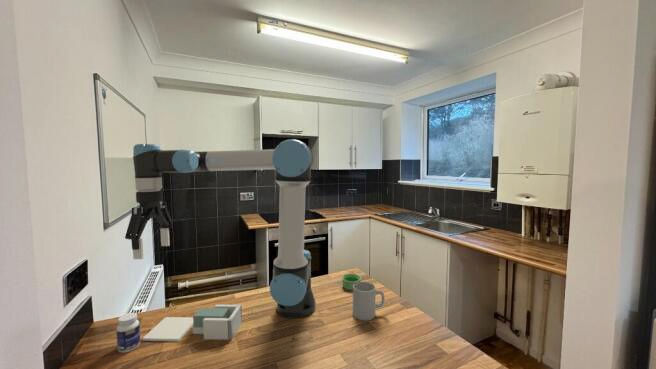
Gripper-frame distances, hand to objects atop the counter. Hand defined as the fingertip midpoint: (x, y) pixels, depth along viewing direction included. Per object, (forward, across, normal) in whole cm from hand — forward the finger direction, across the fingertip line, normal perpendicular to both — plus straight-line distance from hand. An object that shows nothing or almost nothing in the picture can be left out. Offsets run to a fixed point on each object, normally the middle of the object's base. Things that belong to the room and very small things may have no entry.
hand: (153, 251), depth 92 cm
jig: (+27, +1, +22) cm, 35 cm away
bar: (+24, +2, +20) cm, 32 cm away
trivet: (+27, +2, +6) cm, 28 cm away
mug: (+28, -10, +75) cm, 81 cm away
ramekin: (+28, -32, +70) cm, 82 cm away
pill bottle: (+27, +11, -2) cm, 29 cm away
